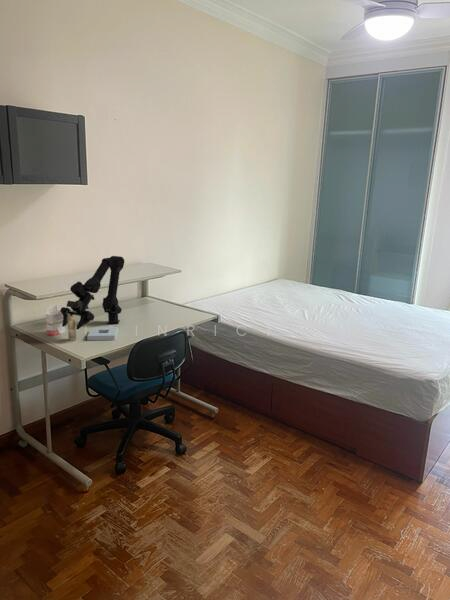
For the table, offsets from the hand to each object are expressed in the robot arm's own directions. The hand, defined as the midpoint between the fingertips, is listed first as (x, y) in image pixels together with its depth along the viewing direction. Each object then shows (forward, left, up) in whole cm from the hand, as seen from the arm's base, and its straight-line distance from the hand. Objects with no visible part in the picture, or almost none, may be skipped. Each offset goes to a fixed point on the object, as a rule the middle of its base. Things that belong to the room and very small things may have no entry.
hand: (69, 327), depth 229 cm
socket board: (-6, +16, -7) cm, 18 cm away
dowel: (-1, +1, -7) cm, 7 cm away
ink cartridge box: (-12, -10, -7) cm, 17 cm away
